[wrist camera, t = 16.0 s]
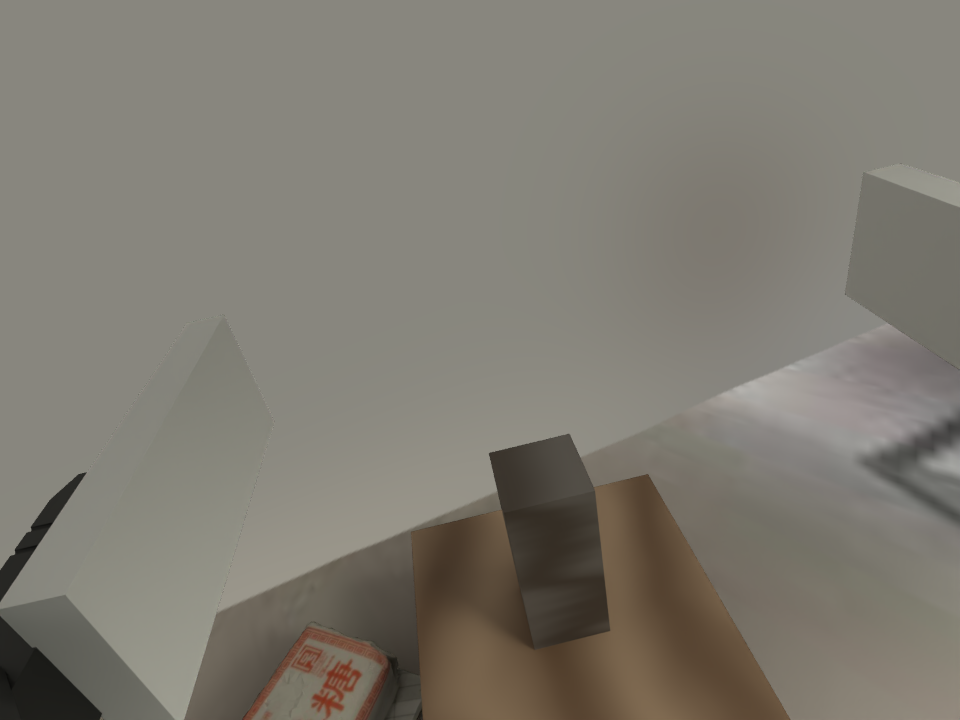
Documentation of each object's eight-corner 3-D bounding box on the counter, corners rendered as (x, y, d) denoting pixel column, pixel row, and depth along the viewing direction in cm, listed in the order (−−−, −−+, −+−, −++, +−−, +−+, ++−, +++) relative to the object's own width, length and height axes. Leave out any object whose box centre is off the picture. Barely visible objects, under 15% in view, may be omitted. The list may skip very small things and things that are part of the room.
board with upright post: (648, 487, 40) (642, 345, 34) (788, 735, 26) (817, 569, 20) (415, 544, 39) (368, 410, 34) (435, 826, 26) (362, 684, 20)
